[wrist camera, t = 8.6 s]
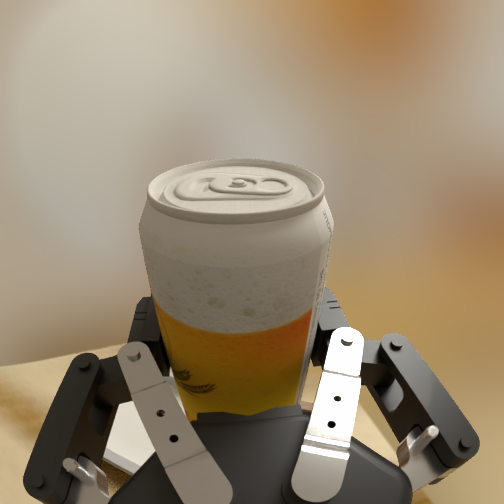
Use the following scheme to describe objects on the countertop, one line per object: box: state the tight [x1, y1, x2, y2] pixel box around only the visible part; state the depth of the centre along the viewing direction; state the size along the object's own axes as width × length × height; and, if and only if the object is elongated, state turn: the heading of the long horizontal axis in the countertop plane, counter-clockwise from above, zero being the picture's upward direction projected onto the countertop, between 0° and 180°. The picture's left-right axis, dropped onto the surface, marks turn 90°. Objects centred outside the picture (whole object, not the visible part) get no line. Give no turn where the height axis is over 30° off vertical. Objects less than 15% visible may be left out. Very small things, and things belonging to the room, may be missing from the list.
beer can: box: [139, 159, 334, 422], centre depth 13 cm, size 6×6×15 cm
